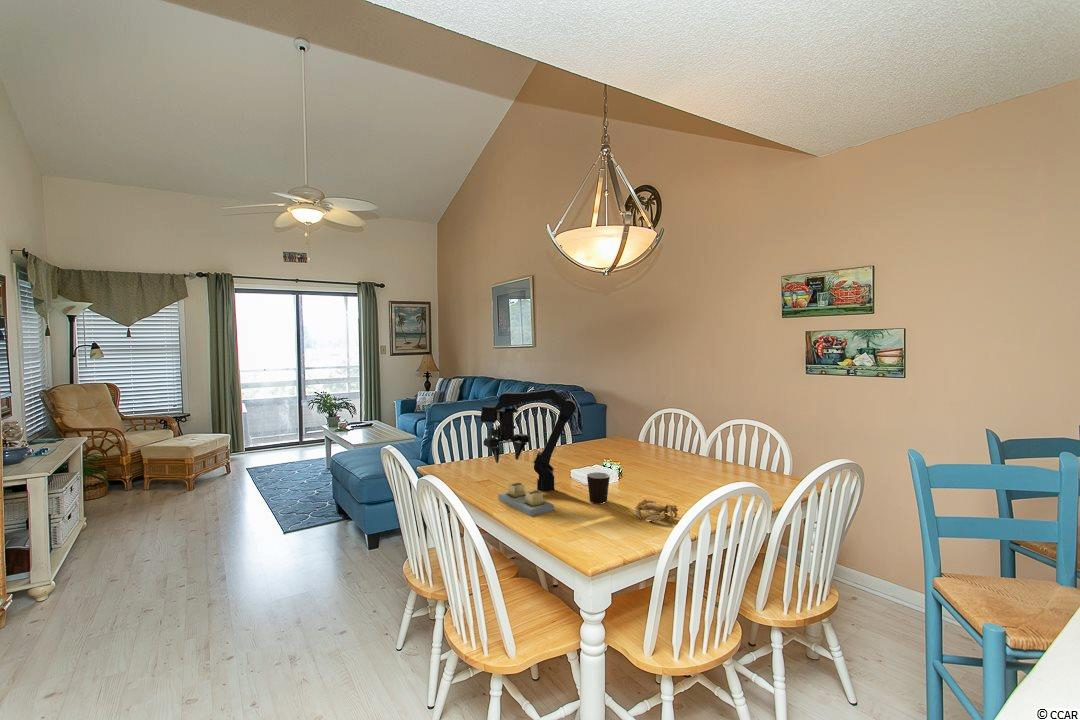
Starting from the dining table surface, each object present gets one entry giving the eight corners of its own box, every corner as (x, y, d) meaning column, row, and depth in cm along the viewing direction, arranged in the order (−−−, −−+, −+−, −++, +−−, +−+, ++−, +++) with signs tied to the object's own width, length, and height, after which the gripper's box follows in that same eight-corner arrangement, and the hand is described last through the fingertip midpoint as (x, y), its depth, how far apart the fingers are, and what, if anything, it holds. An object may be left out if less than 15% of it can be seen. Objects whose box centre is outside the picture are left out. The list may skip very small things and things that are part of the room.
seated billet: (535, 506, 183) (535, 489, 183) (542, 509, 180) (542, 492, 179) (525, 508, 181) (525, 491, 181) (532, 511, 177) (532, 494, 177)
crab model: (625, 517, 176) (625, 501, 175) (646, 508, 184) (646, 493, 184) (663, 529, 164) (663, 512, 164) (684, 519, 173) (684, 503, 173)
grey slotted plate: (498, 501, 191) (498, 493, 191) (520, 497, 197) (520, 489, 197) (530, 518, 173) (530, 510, 173) (553, 512, 179) (553, 504, 179)
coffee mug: (593, 496, 198) (593, 471, 197) (613, 500, 193) (613, 474, 192) (578, 504, 188) (578, 477, 188) (598, 508, 183) (599, 481, 183)
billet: (518, 497, 193) (518, 481, 193) (524, 500, 190) (524, 484, 189) (508, 499, 191) (508, 483, 190) (514, 502, 187) (514, 486, 187)
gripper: (515, 418, 217) (515, 454, 217) (476, 422, 206) (477, 460, 207) (530, 422, 207) (530, 459, 208) (490, 426, 197) (490, 466, 198)
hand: (506, 461), depth 205 cm, fingers open, 9 cm apart
